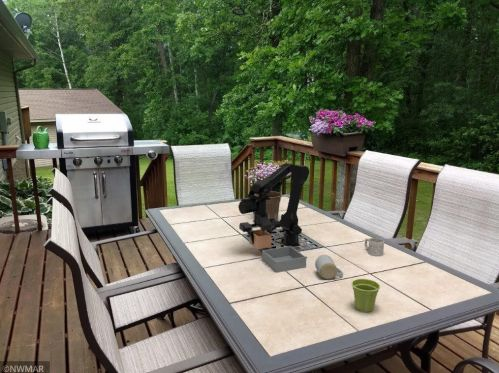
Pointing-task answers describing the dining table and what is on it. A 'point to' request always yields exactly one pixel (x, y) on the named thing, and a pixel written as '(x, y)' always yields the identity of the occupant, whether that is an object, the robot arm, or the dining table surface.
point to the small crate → (261, 239)
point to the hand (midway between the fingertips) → (260, 242)
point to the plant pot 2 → (365, 294)
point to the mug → (375, 246)
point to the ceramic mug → (327, 267)
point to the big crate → (283, 259)
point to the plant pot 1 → (273, 204)
